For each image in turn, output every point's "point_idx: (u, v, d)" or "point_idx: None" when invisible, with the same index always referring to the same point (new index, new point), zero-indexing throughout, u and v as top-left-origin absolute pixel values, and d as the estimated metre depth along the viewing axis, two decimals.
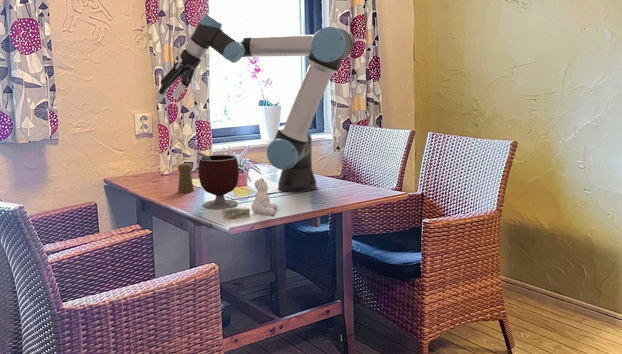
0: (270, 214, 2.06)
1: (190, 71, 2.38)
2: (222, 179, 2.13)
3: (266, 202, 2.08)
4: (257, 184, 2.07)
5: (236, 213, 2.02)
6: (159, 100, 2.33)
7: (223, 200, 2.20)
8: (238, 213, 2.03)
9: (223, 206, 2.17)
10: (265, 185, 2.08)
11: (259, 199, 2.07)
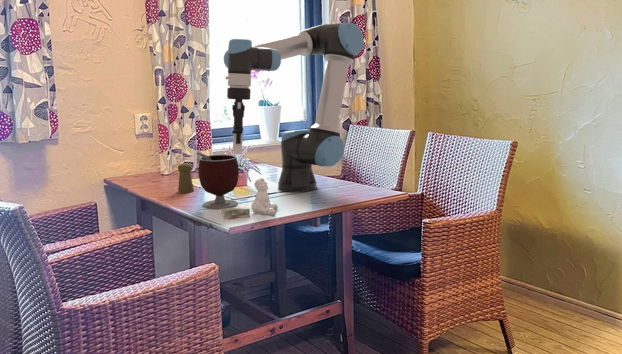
0: (270, 214, 2.06)
1: None
2: (222, 179, 2.13)
3: (266, 202, 2.08)
4: (257, 184, 2.07)
5: (236, 213, 2.02)
6: (240, 152, 2.00)
7: (223, 200, 2.20)
8: (238, 213, 2.03)
9: (223, 206, 2.17)
10: (265, 185, 2.08)
11: (259, 199, 2.07)
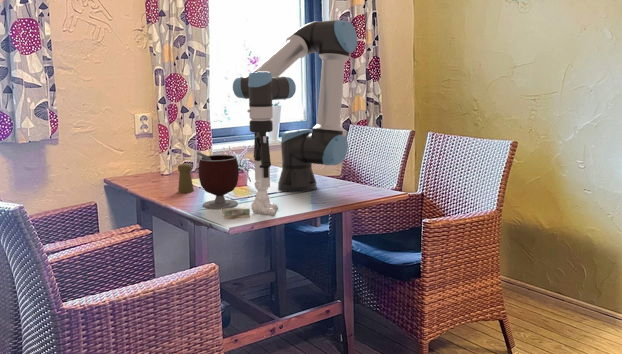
0: (270, 214, 2.06)
1: None
2: (222, 179, 2.13)
3: (266, 202, 2.08)
4: (257, 184, 2.07)
5: (236, 213, 2.02)
6: (268, 185, 2.01)
7: (223, 200, 2.20)
8: (238, 213, 2.03)
9: (223, 206, 2.17)
10: None
11: (259, 199, 2.07)
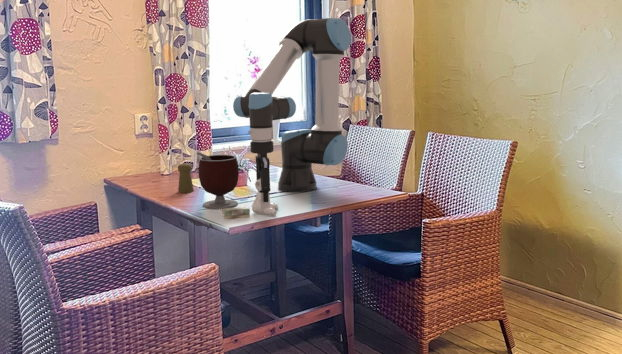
0: (270, 214, 2.05)
1: None
2: (222, 179, 2.13)
3: None
4: (257, 184, 2.06)
5: (236, 213, 2.02)
6: None
7: (223, 200, 2.20)
8: (238, 213, 2.03)
9: (223, 206, 2.17)
10: None
11: (260, 199, 2.07)
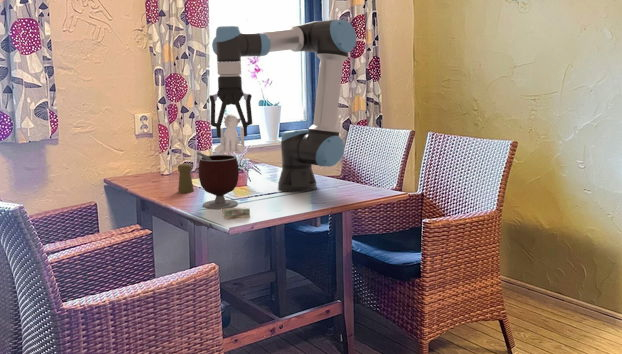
0: None
1: (237, 99, 2.01)
2: (222, 179, 2.13)
3: (225, 139, 2.04)
4: None
5: (236, 213, 2.02)
6: None
7: (223, 200, 2.20)
8: (238, 213, 2.03)
9: (223, 206, 2.17)
10: (228, 122, 2.03)
11: None
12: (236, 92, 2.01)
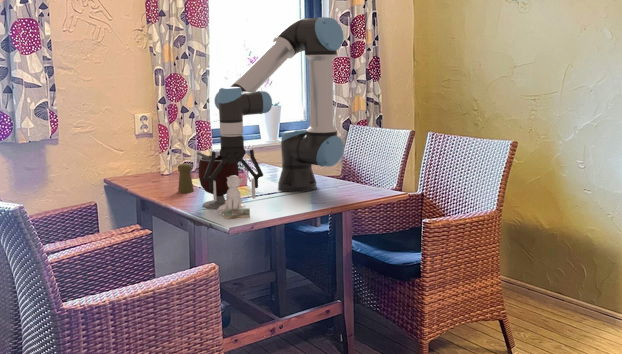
0: None
1: (240, 157, 2.05)
2: (222, 179, 2.13)
3: (228, 199, 2.08)
4: (228, 180, 2.09)
5: (236, 213, 2.02)
6: (214, 199, 2.06)
7: (223, 200, 2.20)
8: (238, 213, 2.03)
9: None
10: (230, 183, 2.07)
11: None
12: (238, 152, 2.05)
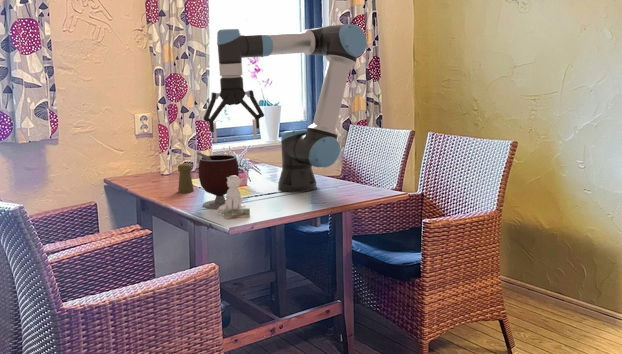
0: None
1: (241, 98, 2.09)
2: (222, 179, 2.13)
3: (228, 199, 2.08)
4: (228, 180, 2.09)
5: (236, 213, 2.02)
6: (214, 140, 2.10)
7: (223, 200, 2.20)
8: (238, 213, 2.03)
9: None
10: (230, 183, 2.07)
11: None
12: (238, 94, 2.09)
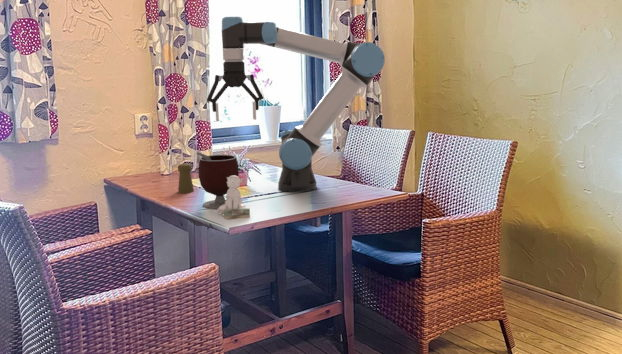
0: None
1: (242, 81, 2.25)
2: (222, 179, 2.13)
3: (228, 199, 2.08)
4: (228, 180, 2.09)
5: (236, 213, 2.02)
6: (216, 119, 2.27)
7: (223, 200, 2.20)
8: (238, 213, 2.03)
9: None
10: (230, 183, 2.07)
11: None
12: (239, 77, 2.25)
